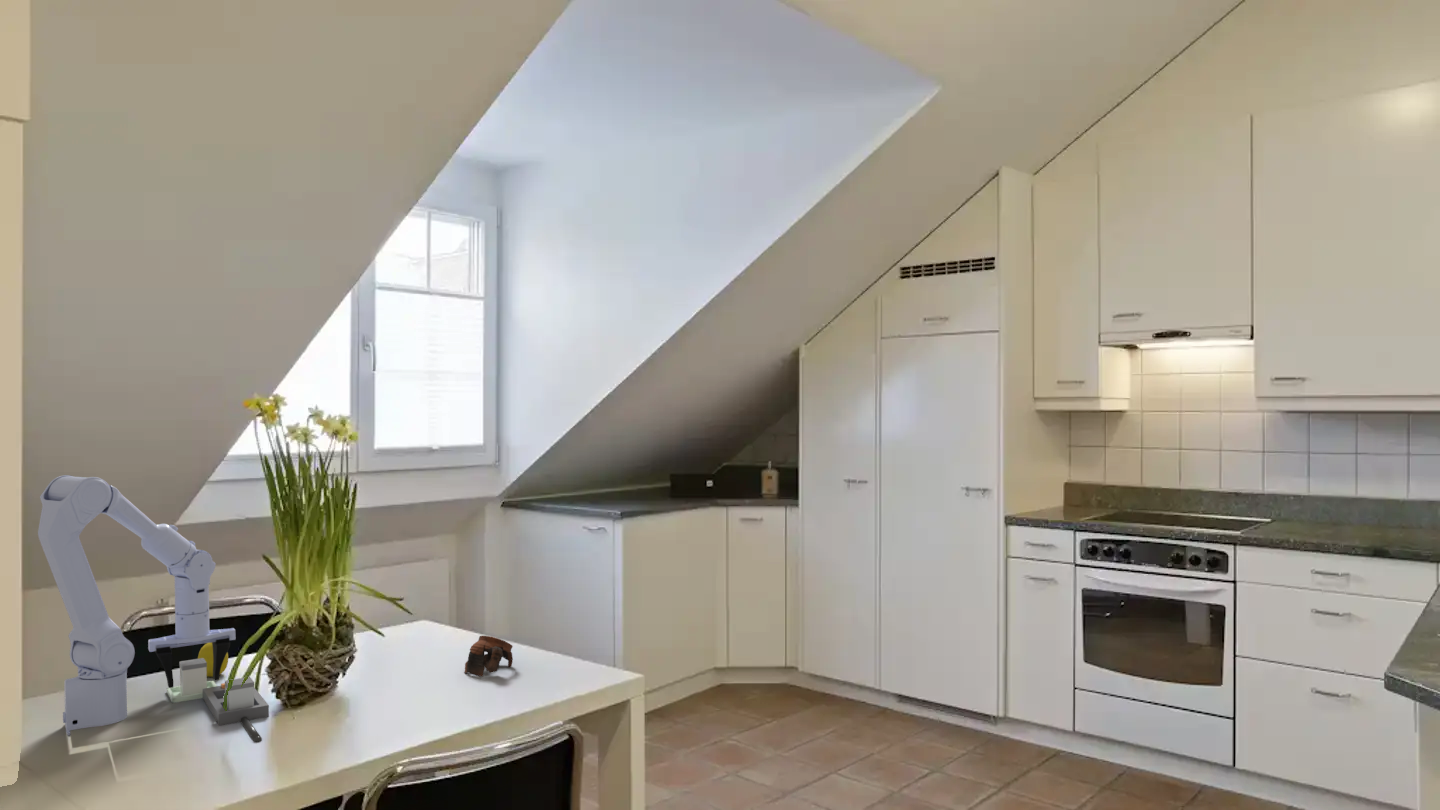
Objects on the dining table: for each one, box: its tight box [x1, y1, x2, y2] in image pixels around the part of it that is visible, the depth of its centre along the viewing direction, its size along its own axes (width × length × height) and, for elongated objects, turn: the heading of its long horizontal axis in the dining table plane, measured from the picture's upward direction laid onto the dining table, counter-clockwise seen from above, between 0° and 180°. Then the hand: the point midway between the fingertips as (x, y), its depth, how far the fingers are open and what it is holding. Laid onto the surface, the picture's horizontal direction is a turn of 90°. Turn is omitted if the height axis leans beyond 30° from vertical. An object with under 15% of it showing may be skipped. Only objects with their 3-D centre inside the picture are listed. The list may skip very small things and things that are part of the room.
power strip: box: [202, 682, 270, 743], centre depth 173 cm, size 8×31×3 cm, turn 36°
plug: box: [178, 658, 208, 696], centre depth 186 cm, size 4×4×6 cm
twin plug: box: [224, 676, 255, 710], centre depth 174 cm, size 4×4×6 cm
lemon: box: [197, 642, 229, 678], centre depth 197 cm, size 6×6×8 cm
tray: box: [166, 680, 218, 704], centre depth 186 cm, size 8×8×2 cm
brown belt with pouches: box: [464, 635, 514, 677], centre depth 202 cm, size 12×10×8 cm
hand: (193, 682), depth 186 cm, fingers open, 7 cm apart
